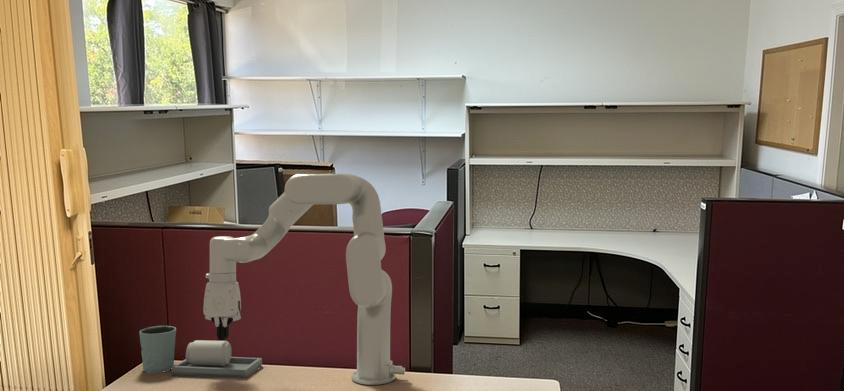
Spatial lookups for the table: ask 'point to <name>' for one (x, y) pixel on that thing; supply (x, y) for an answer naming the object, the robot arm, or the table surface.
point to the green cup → (157, 348)
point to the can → (208, 353)
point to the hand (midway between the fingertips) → (222, 339)
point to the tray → (220, 368)
